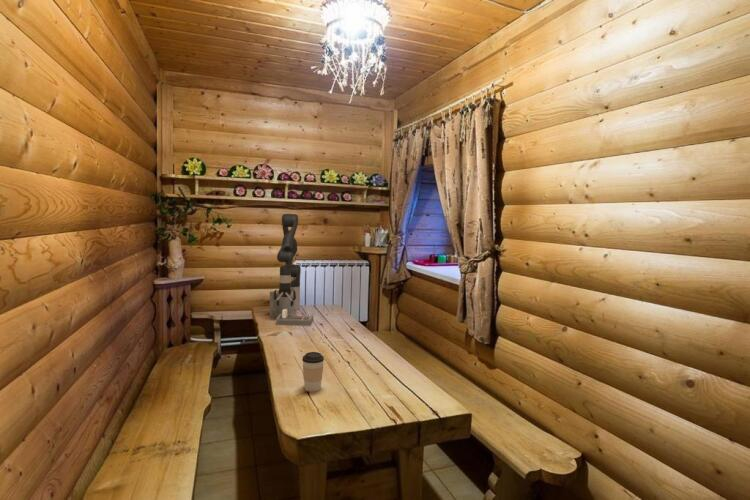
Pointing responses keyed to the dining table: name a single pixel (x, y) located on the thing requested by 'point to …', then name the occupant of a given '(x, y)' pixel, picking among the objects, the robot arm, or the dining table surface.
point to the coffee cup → (312, 371)
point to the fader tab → (284, 313)
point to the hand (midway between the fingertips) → (284, 306)
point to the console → (295, 320)
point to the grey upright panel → (280, 305)
